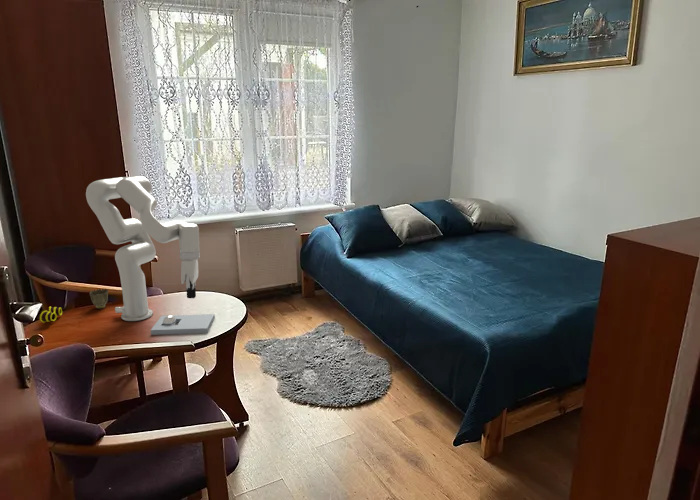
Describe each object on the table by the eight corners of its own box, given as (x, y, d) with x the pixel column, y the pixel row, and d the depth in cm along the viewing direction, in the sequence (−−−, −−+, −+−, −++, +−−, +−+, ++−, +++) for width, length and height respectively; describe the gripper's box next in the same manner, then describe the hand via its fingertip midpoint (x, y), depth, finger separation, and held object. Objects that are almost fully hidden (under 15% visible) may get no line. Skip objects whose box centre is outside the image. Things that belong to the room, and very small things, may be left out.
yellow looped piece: (53, 323, 205) (51, 312, 204) (40, 324, 205) (38, 313, 203) (64, 315, 215) (62, 304, 213) (51, 315, 214) (49, 304, 213)
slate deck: (151, 334, 194) (150, 330, 194) (162, 320, 209) (161, 315, 208) (207, 332, 196) (207, 328, 195) (214, 318, 210) (214, 314, 210)
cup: (92, 306, 224) (90, 289, 222) (110, 303, 227) (108, 287, 225) (91, 311, 218) (88, 294, 216) (109, 309, 221) (107, 292, 219)
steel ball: (165, 315, 198) (176, 320, 198) (167, 311, 202) (179, 316, 203) (159, 326, 198) (171, 331, 199) (162, 322, 203) (174, 327, 204)
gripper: (184, 249, 202) (186, 290, 207) (175, 259, 187) (177, 304, 192) (203, 249, 202) (204, 291, 207) (195, 260, 188) (196, 304, 193)
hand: (191, 297), depth 200 cm, fingers closed
